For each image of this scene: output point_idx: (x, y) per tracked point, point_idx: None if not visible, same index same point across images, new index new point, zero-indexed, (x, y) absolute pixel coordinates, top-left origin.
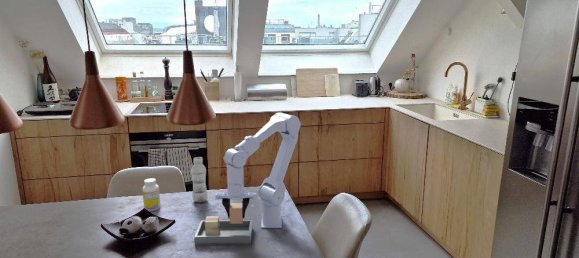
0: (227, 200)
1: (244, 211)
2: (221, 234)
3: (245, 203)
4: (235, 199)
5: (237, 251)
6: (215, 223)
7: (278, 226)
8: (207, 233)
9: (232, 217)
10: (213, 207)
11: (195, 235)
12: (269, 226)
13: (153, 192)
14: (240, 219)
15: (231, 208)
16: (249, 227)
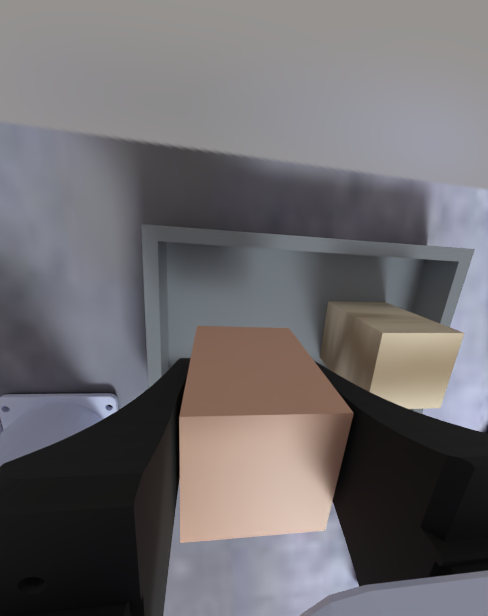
0: (469, 552)
1: (157, 388)
2: (311, 324)
3: (55, 472)
4: (429, 610)
5: (224, 164)
6: (387, 328)
7: (15, 402)
8: (390, 307)
9: (282, 350)
10: (334, 541)
11: (466, 264)
12: (68, 402)
13: None
14: (210, 339)
15: (325, 410)
16: (158, 341)
